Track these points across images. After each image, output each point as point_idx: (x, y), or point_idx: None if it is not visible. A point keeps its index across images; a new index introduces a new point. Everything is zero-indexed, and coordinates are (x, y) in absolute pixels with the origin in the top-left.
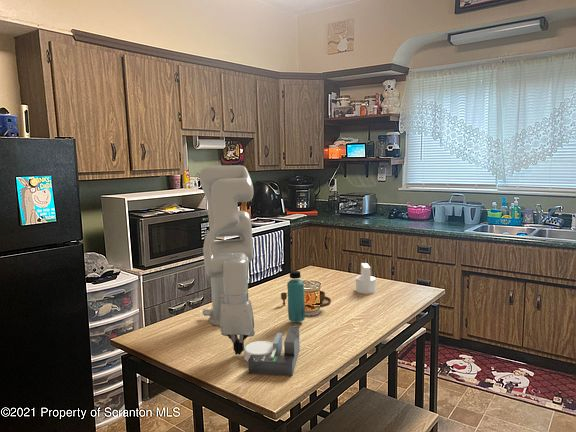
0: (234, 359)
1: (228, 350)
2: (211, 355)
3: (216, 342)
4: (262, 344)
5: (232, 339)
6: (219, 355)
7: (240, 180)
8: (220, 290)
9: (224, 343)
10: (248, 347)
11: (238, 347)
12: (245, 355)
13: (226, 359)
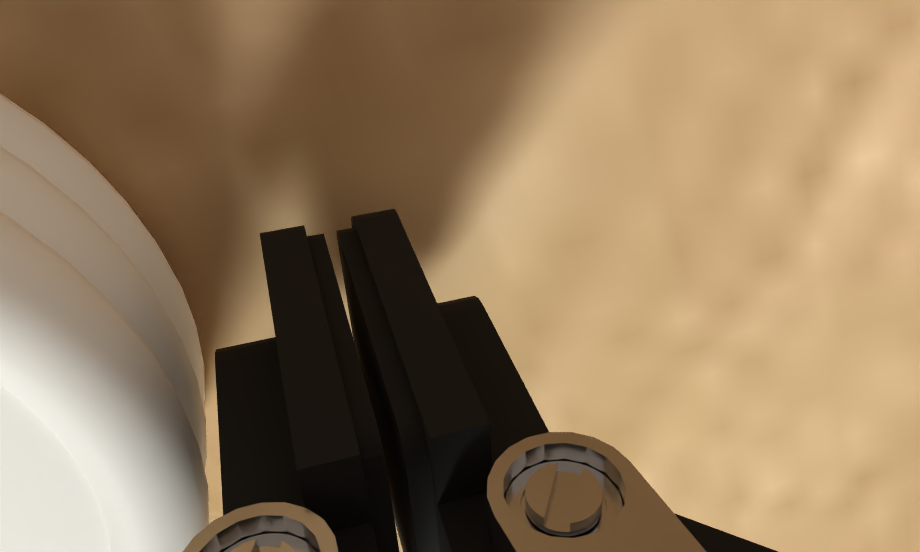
0: (370, 100)
1: (622, 392)
2: (899, 136)
3: (853, 518)
4: None
5: (626, 518)
6: (749, 179)
7: None
8: None
9: None
10: (40, 484)
11: (318, 346)
12: (7, 176)
13: (561, 51)
